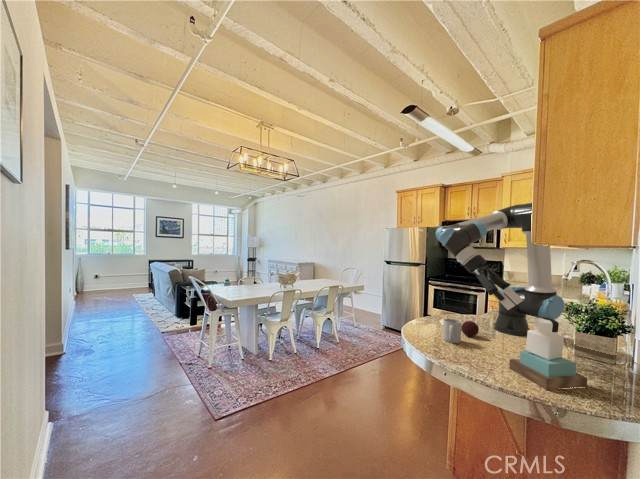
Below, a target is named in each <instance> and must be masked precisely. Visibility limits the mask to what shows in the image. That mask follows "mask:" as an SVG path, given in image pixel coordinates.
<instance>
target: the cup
mask: <svg viewBox="0 0 640 479" xmlns="http://www.w3.org/2000/svg"><path fill="white" fill-rule="evenodd" d="M461 326H462V321H460V320H458V319H455V318H444V319H443V326H442V329H443V330H442V339H443V340H444V342H447V343H450V344H460V343H461V341H462V330H461Z"/></svg>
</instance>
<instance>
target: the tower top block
mask: <svg viewBox="0 0 640 479" xmlns="http://www.w3.org/2000/svg"><path fill="white" fill-rule="evenodd" d="M519 359H520V363H521V364H523V365H525V366H527V367H529V368H531V369H533V370H535V371H537V372H539V373H541V374H543V375H545V376H547V377H561V376H576V373H577V363H576V361H572V360H570V359H567V358H565V357H560V358H556V359H552V360H546V359H544V358H542V357H540V356H537V355H535V354H533V353H530V352H528V351H526V350H520V352H519Z"/></svg>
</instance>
